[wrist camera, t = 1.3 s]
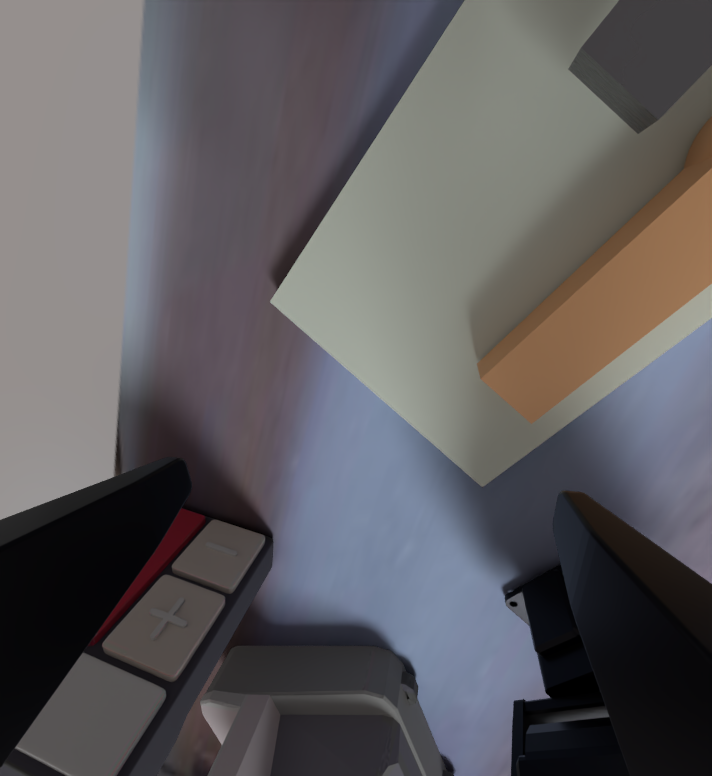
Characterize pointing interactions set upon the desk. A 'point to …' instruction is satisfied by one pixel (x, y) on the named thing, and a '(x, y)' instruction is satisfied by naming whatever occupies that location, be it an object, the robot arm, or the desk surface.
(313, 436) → the desk surface
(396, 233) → the base board
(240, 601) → the calculator
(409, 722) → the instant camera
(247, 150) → the desk surface
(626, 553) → the robot arm
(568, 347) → the link
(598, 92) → the keeper
